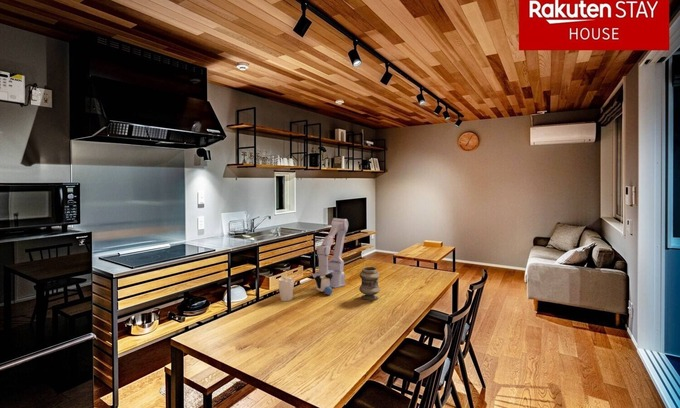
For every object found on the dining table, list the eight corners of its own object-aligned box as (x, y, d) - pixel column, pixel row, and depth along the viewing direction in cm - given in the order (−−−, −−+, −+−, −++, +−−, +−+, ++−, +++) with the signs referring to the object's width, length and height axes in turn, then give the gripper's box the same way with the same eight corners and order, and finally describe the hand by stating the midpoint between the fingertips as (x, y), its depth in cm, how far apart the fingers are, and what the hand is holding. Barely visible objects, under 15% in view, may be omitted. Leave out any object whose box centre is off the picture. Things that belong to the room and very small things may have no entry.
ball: (330, 283, 213) (334, 289, 210) (328, 290, 215) (333, 295, 212) (323, 285, 210) (328, 290, 207) (322, 292, 212) (326, 297, 209)
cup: (291, 302, 198) (291, 281, 197) (276, 301, 200) (276, 280, 199) (296, 297, 207) (296, 277, 206) (281, 295, 208) (281, 276, 207)
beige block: (323, 287, 220) (323, 276, 219) (329, 289, 215) (329, 278, 215) (316, 289, 216) (316, 278, 216) (321, 291, 211) (321, 280, 211)
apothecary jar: (355, 299, 203) (356, 269, 201) (364, 293, 213) (364, 264, 212) (375, 303, 197) (375, 272, 196) (382, 296, 208) (383, 267, 206)
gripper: (328, 262, 222) (328, 283, 223) (309, 265, 212) (310, 287, 214) (335, 264, 216) (335, 285, 217) (316, 268, 207) (316, 290, 208)
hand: (323, 286), depth 215 cm, fingers closed on beige block, 6 cm apart
